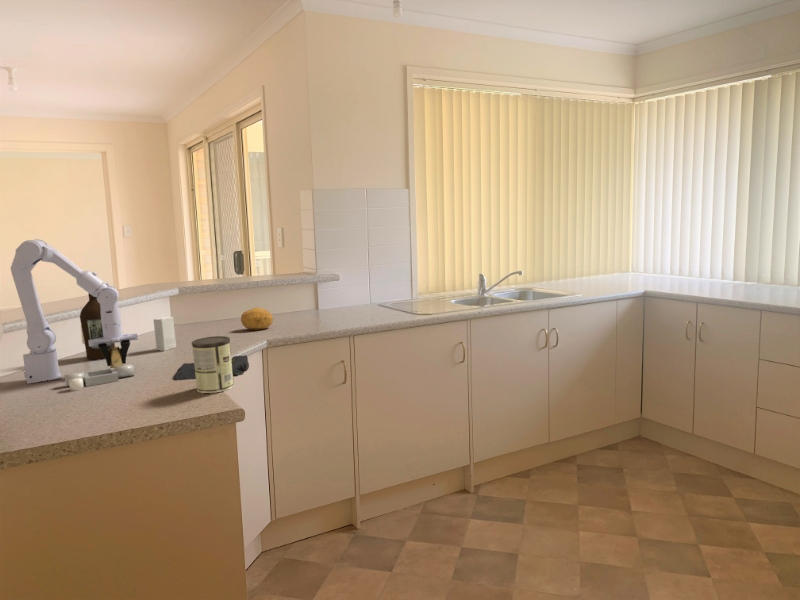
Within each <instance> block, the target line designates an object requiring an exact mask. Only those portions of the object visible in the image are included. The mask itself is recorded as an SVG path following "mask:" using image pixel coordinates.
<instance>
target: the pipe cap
mask: <svg viewBox="0 0 800 600" xmlns="http://www.w3.org/2000/svg"><path fill="white" fill-rule="evenodd" d="M68 387H69V391H70V392H77V391H82V390H83V389H84V384H83V378H74V379H70V380H69V386H68Z"/></svg>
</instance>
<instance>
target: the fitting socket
mask: <svg viewBox="0 0 800 600" xmlns="http://www.w3.org/2000/svg"><path fill="white" fill-rule="evenodd" d="M132 376H135V368H134V364H133V363H131V364H130V363H129V364H123V366H117V367H115V368H110V367H109V368H103V369H96V370H92V371H80V372H74V373H69V374H64V380H65V387H70V386H69V380H70V379H74V378H83V385H85V387H86V388H87V387H91V386H98V385H103V384H108V383H109V384H111V383H115V382H119V381H120V380H119V379H121V378H126V377H132Z"/></svg>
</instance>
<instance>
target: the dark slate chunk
mask: <svg viewBox="0 0 800 600" xmlns="http://www.w3.org/2000/svg"><path fill="white" fill-rule="evenodd" d="M231 361H232V371H233V378H234V377H239V376H244V374H245V372H247V371H248V370H249V369H250V365H249V364H250V363H249V359H248V355H234V356H231ZM173 379H174V381H185V380H196V374H195V365H194V362H189V363H188V362H187V363H183V364H182V365H181V366H180V367H178V369H177V370H176V371H175V374H174V376H173Z"/></svg>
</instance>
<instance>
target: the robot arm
mask: <svg viewBox="0 0 800 600" xmlns="http://www.w3.org/2000/svg"><path fill="white" fill-rule="evenodd" d="M12 259H13V260H12V262H11V266H10V272H11V275H12V278H13V279H12V280H13V281H14V286H15V288H16V292H17V294H18V299H19V302H20V306H21V308H22V312H23V314H24V317H25V321H26V335H27V339H26V345H27V348H28V350H29V353H23V355H22V357H23V358H22V359H23V364H24V372H23V373H24V378H26V379H25V380H26V384H28V385H29V384H34V383H39V382H40V383H41V381H42V382H45V381H46V382H47V380H48V381H52V380H58V379H59V380H60V379H62V373H61V372H60V368H59V360H58V352H57V347H56V346H55V345H54V344H55V343H56V340H57V336H56V335H57V334H56V333H55V332H54V330H53V329H51V327H50V323H49V322H48V321H47V320H46V316H45V314H44V311H43V308H42V303H41V301H40V298H39V293H38V291H37V287H36V285H35V282H34V279H33V275H32V270H33V269H34V268H35V267H36V265H37V264H38V262H40V261H41V262H46V263H51V264H54V265H55V266H57V267H59V268H60V269H61V270H63V271H65V272H66V273H67V274H69V275H70V276H72V278H75V280H76V285H77V286H78V287H80V288H81V289H82V290H84V291H85V292H86V293H88V294H91V295H93V297H98V298H97V301H98V302H99V303H100V308H101V311H100V313H101V321H102V329H103V337H102V338H97V339H92V340H88V342H89V346H90V347H91V346H95V345H98V347H99V348H100V350H101V351H102V353H103V355H104V357H105V359H104V360H105V362H106V364H107V365H106V366H107V367H110V360H109V354H108V347H107V344H109V343H120V348H121V349H122V358H123V365H127V355H128V351H129V348H130V345H131V341H138V340H139V336H138V333H127V334H123V327H122V326H123V325H122V317H121V309H120V304H119V301H118V300H119V299H120V293H119V291H118V289H117V288H116V287H115V286H114V285H113V286H112V285H110V283H109V282H108V281H107V282H106V281H104V280H103V279H101V278H100V277H99V276H98V273H97V272H95V271H93V272H92V271H91V270H85V271H84V270H83V269H82V268H80V267H79V266H78V265H76V263H74V262H73V261H72V260H71V259H69V258H68V257H67V256H65V255H64V254H63V253H62V252H61V251H59V250H58V249H57V248H55V247H54V246H52V245H50V244H48V243H47V242H46V241H44V240H42V239H38V238H37V239H32V240H31V239H27V240H25V241H23V242H22V243H20V245H19V246H18V247H17V248H16V249H15V254H14V257H13V258H12ZM108 341H111V342H108Z"/></svg>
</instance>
